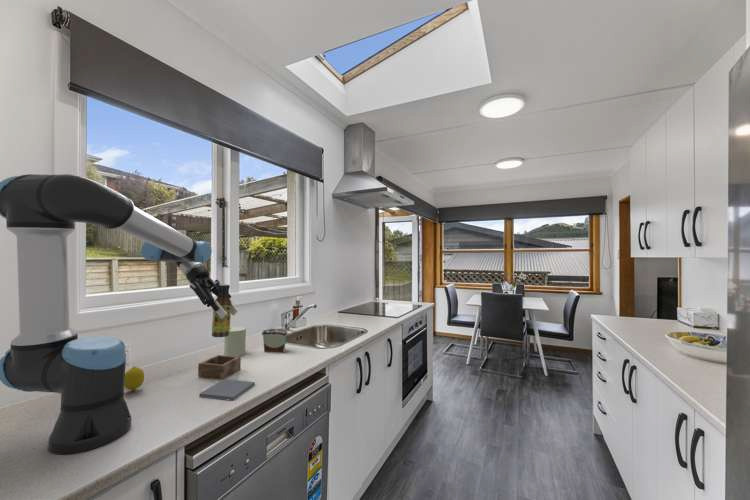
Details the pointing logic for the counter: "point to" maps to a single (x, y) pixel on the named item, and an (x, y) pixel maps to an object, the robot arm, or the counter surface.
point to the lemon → (133, 378)
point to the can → (235, 342)
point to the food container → (274, 340)
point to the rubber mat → (227, 389)
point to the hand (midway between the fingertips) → (230, 314)
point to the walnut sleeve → (219, 367)
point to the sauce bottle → (223, 325)
